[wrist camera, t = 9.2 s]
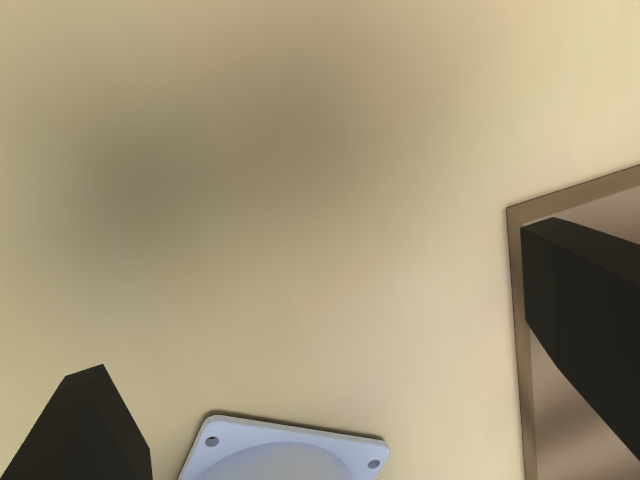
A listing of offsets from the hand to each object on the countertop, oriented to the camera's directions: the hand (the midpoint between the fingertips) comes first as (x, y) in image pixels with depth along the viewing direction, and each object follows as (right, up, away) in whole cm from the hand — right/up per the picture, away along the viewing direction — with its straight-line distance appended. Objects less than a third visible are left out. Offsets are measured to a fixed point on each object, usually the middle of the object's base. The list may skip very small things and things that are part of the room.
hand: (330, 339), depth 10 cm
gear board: (+15, -4, +17) cm, 23 cm away
